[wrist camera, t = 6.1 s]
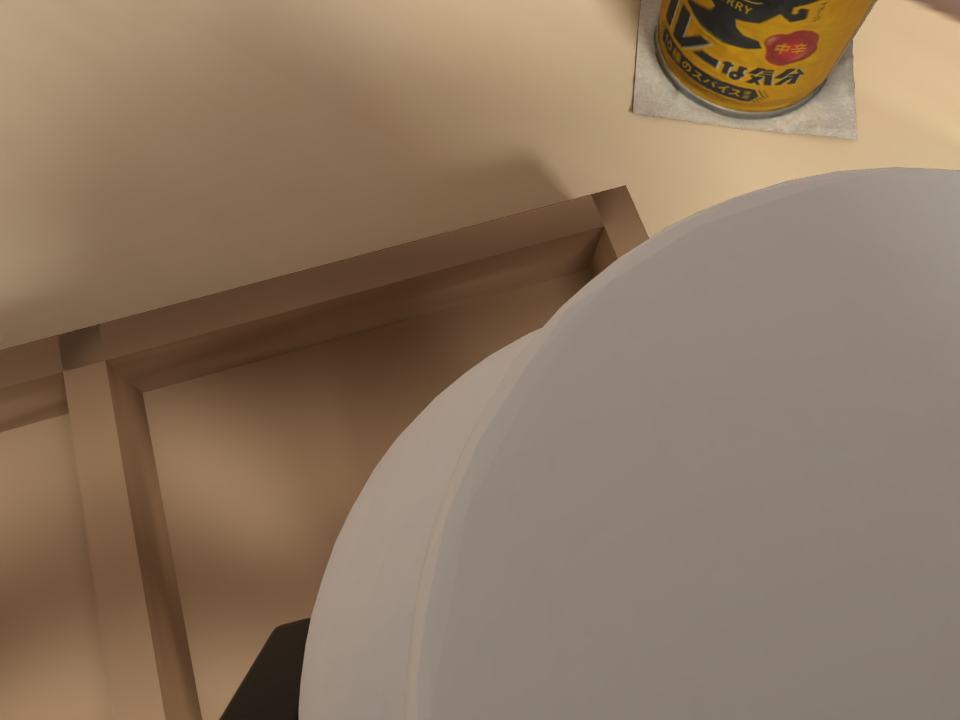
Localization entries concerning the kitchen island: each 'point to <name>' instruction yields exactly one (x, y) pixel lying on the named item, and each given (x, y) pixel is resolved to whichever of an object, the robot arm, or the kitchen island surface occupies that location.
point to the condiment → (750, 63)
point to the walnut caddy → (238, 453)
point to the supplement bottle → (683, 487)
